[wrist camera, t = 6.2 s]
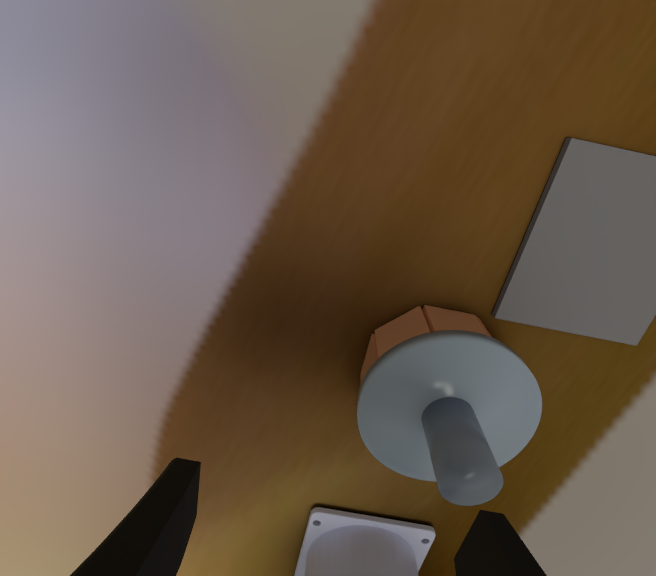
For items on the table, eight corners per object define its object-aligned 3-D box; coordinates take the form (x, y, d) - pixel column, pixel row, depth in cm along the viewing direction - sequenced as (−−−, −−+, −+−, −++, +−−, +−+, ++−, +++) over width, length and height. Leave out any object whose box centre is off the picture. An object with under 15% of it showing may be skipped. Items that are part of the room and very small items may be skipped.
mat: (630, 341, 19) (636, 345, 18) (491, 314, 18) (494, 317, 18) (733, 173, 15) (742, 175, 15) (566, 137, 15) (571, 138, 15)
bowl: (469, 425, 21) (487, 471, 19) (351, 404, 21) (352, 447, 18) (516, 322, 19) (545, 358, 16) (382, 296, 18) (388, 328, 16)
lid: (489, 480, 19) (524, 568, 15) (338, 448, 18) (336, 532, 15) (566, 353, 16) (633, 426, 12) (385, 310, 15) (399, 372, 12)
